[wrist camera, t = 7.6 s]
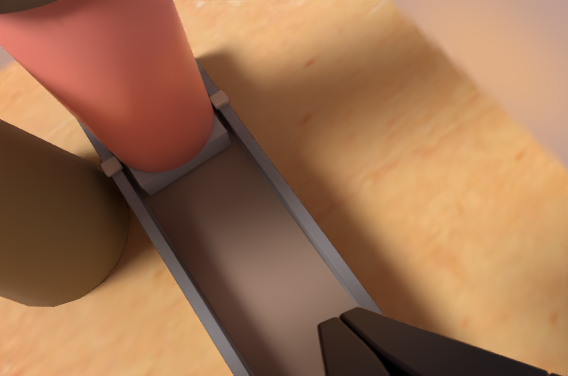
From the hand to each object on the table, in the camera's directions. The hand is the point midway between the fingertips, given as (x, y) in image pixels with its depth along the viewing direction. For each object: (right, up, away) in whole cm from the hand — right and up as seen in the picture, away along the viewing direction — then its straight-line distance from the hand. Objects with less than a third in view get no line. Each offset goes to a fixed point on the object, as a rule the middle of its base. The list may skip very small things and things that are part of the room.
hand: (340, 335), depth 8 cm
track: (-3, +1, +10) cm, 10 cm away
